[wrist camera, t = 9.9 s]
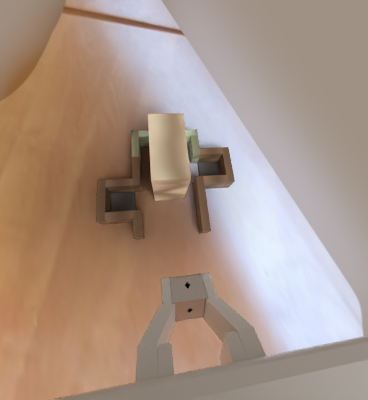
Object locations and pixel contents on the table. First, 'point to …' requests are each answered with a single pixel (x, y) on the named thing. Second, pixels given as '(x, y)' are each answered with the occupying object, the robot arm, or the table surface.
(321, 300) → the table surface
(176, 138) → the beech block
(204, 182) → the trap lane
